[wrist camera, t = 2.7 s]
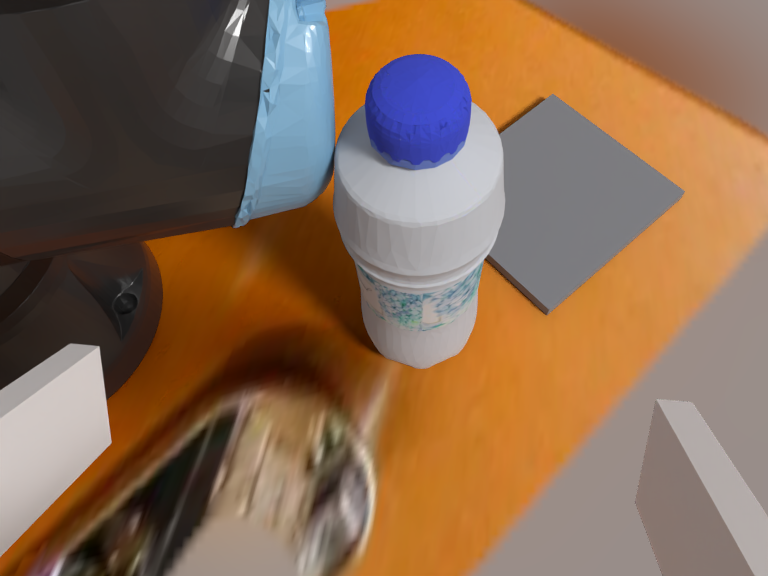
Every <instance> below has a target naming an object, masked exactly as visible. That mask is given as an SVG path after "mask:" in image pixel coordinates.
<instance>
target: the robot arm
mask: <svg viewBox="0 0 768 576" xmlns="http://www.w3.org/2000/svg"><path fill="white" fill-rule="evenodd" d="M325 8H326V2H325V0H0V556H1V555H2V554H3V553H4V552H5V551H6V550H7V549H8V548H9V547H10V546H11V545H12V544H13V543H14V542H15V541H16V540H17V539H18V538H19V537H20V536H21V535H22V534H23V533H24V532H25V531H26V530H27V529H28V528H29V527H30V526H31V525H32V524H33V523H34V522H35V521H36V520H37V519H38V518H39V517H40V516H41V515H42V514H43V513H44V511H45V510H46V509H47V508H48V507H49V506H50V505H51V504H52V503H53V502H54V501H55V500H56V499H57V498H58V497H59V496H60V495H61V494H62V493H63V492H64V491H65V490H66V489H67V488H68V487H69V486H70V485H71V484H72V483H73V482H74V481H75V480H76V479H77V478H78V477H79V476H80V475H81V474H82V473H83V472H84V471H85V470H86V469H87V468H88V467H89V465H90V464H91V463H92V462H93V461H94V460H95V459H96V458H97V457H98V456H99V455H100V454H101V453H102V452H103V451H104V450H105V449H106V448H107V447H108V446H109V445H110V444H111V443H112V442H111V434H110V426H109V419H108V411H107V403H106V400H107V399H108V398H109V397H110V396H112V395H113V394H114V393H115V392H116V391H117V390H118V389H119V388H120V387H121V386H122V385H123V384H124V383H125V382H126V381H127V379H128V378H129V377H130V376H131V375H132V373H133V372H134V371H135V370H136V368H137V367H138V365H139V364H140V362H141V361H142V359H143V358H144V356H145V354H146V352H147V351H148V349H149V347H150V345H151V343H152V340H153V338H154V335H155V333H156V330H157V327H158V323H159V320H160V315H161V310H162V300H163V290H162V280H161V275H160V271H159V267H158V264H157V262H156V260H155V257H154V255H153V254H152V252H151V250H150V249H149V247H148V246H147V244H146V243H145V242H144V241H147V240H153V239H158V238H164V237H170V236H175V235H181V234H187V233H193V232H198V231H204V230H210V229H216V228H221V227H227V226H232V227H233V228H237V227H240V226H244V225H245V224H247V223H248V221H249V220H251V219H255V218H259V217H263V216H267V215H271V214H275V213H279V212H284V211H288V210H292V209H296V208H300V207H304V206H306V205H307V204H309V203H311V202H312V201H314V200H315V199H316V198H317V197H318V196H319V195H320V194H322V193H323V192H324V190H325V189H326V188H327V186H328V184H329V182H330V181H331V178H332V175H333V171H334V158H335V112H334V92H333V76H332V62H331V50H330V39H329V28H328V23H327V19H326V16H325V13H324V11H325ZM635 504H636V506H637V509H638V512H639V514H640V517H641V519H642V522H643V525H644V528H645V530H646V533H647V535H648V538H649V541H650V544H651V546H652V549H653V551H654V554H655V557H656V560H657V562H658V565H659V568H660V570H661V573H662V576H768V516H767V514H766V513H765V511H764V510H763V508H762V507H761V505H760V504H759V502H758V501H757V499H756V498H755V497H754V495H753V494H752V492H751V490H750V489H749V487H748V486H747V484H746V483H745V481H744V480H743V478H742V477H741V475H740V474H739V472H738V471H737V469H736V468H735V466H734V465H733V463H732V462H731V460H730V458H729V457H728V455H727V454H726V452H725V451H724V449H723V448H722V447H721V445H720V444H719V442H718V440H717V439H716V437H715V436H714V434H713V433H712V431H711V430H710V428H709V427H708V425H707V424H706V422H705V421H704V419H703V418H702V416H701V415H700V413H699V412H698V410H697V409H696V407H695V406H694V404H693V403H692V402H684V401H674V400H663V399H656V401H655V406H654V411H653V416H652V421H651V426H650V431H649V436H648V441H647V445H646V450H645V455H644V460H643V465H642V470H641V475H640V480H639V485H638V490H637V495H636V500H635Z"/></svg>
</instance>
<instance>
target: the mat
mask: <svg viewBox="0 0 768 576" xmlns="http://www.w3.org/2000/svg"><path fill="white" fill-rule="evenodd" d="M499 136H500V139H501V142H502V148H503V158H504V192H505V210H504V216H503V220H502V223H501V226H500V228H499V230H498V235H497V238H496V241H495V243H494V245H493V247H492V249H491V250H490V252H489V254H488V255H487V256H486V258H485V259H486V260H487V261H489V262H490V263H491V264H492V265H493V266H494V267H495V268H496V269H497V270H498V271H499V272H500V273H502V274H503V275H504V276H505V277H506V278H507V279H508V280H509V281H510V282H511V283H512V284H513V285H515V286H516V287H517V288H518V289H519V290H520V291H521V292H522V293H523V294H524V295H525V296H526V297H528V298H529V299H530V300H531V301H532V302H533V303H534V304H535V305H536V306H537V307H538V308H539V309H541V310H542V311H543V312H544V313H545V314H546V315H548V314H549V313H550V312H551V311H553V310H554V309H555V308H556V307H557V306H558V305H559V304H561V303H562V302H563V301H564V300H565V299H566V298H567V297H569V296H570V295H571V294H572V293H573V292H574V291H575V290H577V289H578V288H579V287H580V286H581V285H582V284H583V283H585V282H586V281H587V280H588V279H589V278H590V277H591V276H593V275H594V274H595V273H596V272H597V271H598V270H599V269H601V268H602V267H603V266H604V265H605V264H606V263H607V262H609V261H610V260H611V259H612V258H613V257H614V256H615V255H617V254H618V253H619V252H620V251H621V250H622V249H624V248H625V247H626V246H627V245H628V244H629V243H630V242H632V241H633V240H634V239H635V238H636V237H637V236H638V235H640V234H641V233H642V232H643V231H644V230H645V229H646V228H648V227H649V226H650V225H651V224H652V223H653V222H654V221H656V220H657V219H658V218H659V217H660V216H661V215H662V214H664V213H665V212H666V211H667V210H668V209H669V208H670V207H672V206H673V205H674V204H675V203H676V202H677V201H678V200H680V199H681V197H682V195H683V194H684V192H685V191H684V190H682V189H681V188H680V187H678V186H677V185H675V184H674V183H673V182H671V181H670V180H669V179H667V178H666V177H665V176H663V175H662V174H661V173H659V172H658V171H657V170H655V169H654V168H652V167H651V166H650V165H648V164H647V163H646V162H644V161H643V160H642V159H640V158H639V157H638V156H636V155H635V154H634V153H632V152H631V151H629V150H628V149H627V148H625V147H624V146H623V145H621V144H620V143H619V142H617V141H616V140H615V139H613V138H612V137H611V136H609V135H608V134H606V133H605V132H604V131H602V130H601V129H600V128H598V127H597V126H596V125H594V124H593V123H592V122H590V121H589V120H588V119H586V118H585V117H583V116H582V115H581V114H579V113H578V112H577V111H575V110H574V109H573V108H571V107H570V106H569V105H567V104H566V103H565V102H563V101H562V100H560V99H559V98H558V97H556V96H555V95H554V94H552V95H551V96H549V97H548V98H547V99H545V100H544V101H543V102H541V103H540V104H539V105H537V106H536V107H535V108H533V109H532V110H531V111H529V112H528V113H527V114H525V115H524V116H523V117H522V118H520V119H519V120H518V121H516V122H515V123H514V124H512V125H511V126H510V127H508V128H507V129H506V130H504V131H503V132H502V133H500V134H499Z"/></svg>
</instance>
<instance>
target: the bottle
mask: <svg viewBox="0 0 768 576" xmlns="http://www.w3.org/2000/svg"><path fill="white" fill-rule="evenodd" d="M333 210H334V216H335V220H336V223H337V226H338V229H339V231H340V234H341V238H342V241H343V243H344V245H345V247H346V249H347V251H348V253H349V254H350V256H351V257H352V258H353V259H354V261H355V265H356V270H357V275H358V279H359V284H360V289H361V308H362V315H363V321H364V324H365V327H366V330H367V332H368V335H369V336H370V338H371V340H372V342H373V343H374V345H375V347H376V348H377V349H378V351H379V352H380V353H381V354H382V355H383V356H385V357H386V358H388V359H390V360H395V361H397V362H400V363H403V364H407V365H409V366H412V367H414V368H419V369H425V368H429V367H431V366H433V365H435V364H437V363H439V362H441V361H444V360H446V359H448V358H450V357H452V356H455V355H456V354H458V353H459V352H460V351H461V350H462V348H463V347H464V346H465V344H466V342H467V340H468V338H469V336H470V334H471V332H472V330H473V327H474V323H475V320H476V314H477V299H478V286H479V281H480V276H481V271H482V266H483V261H484V259H485V258H486V256H487V255H488V254H489V252H490V250H491V249H492V247H493V245H494V243H495V241H496V238H497V235H498V230H499V228H500V226H501V223H502V220H503V216H504V210H505V192H504V158H503V148H502V142H501V139H500V136H499V134H498V131H497V129H496V127H495V126H494V124H493V122H492V121H491V120H490V118H489V117H488V116H487V114H486V113H485V112H484V111H483V110H481V109H480V108H479V107H478V106H477V105H476V104H474V103H473V102H472V99H471V94H470V90H469V87H468V84H467V82H466V81H465V79H464V76H463V75H462V74H461V73H460V72H459V71H458V69H456V68H455V67H454V66H453V65H451V64H450V63H449V62H447V61H445V60H443V59H441V58H438V57H435V56H431V55H425V54H414V55H407V56H403V57H400V58H397V59H395V60H393V61H391V62H390V63H388V64H387V65H385V66H384V67H383V68H381V69H380V71H379V72H378V73H377V74H375V76H374V78H373V79H372V81H371V82H370V85H369V88H368V90H367V93H366V100H365V105H363V106H362V107H360V108H359V109H358V110H357V111H356V112H355V113H354V114H353V115H352V116H351V117H350V119H349V120H348V122H347V123H346V124H345V126H344V127H343V129H342V131H341V133H340V135H339V138H338V141H337V144H336V148H335V158H334V196H333Z"/></svg>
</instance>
